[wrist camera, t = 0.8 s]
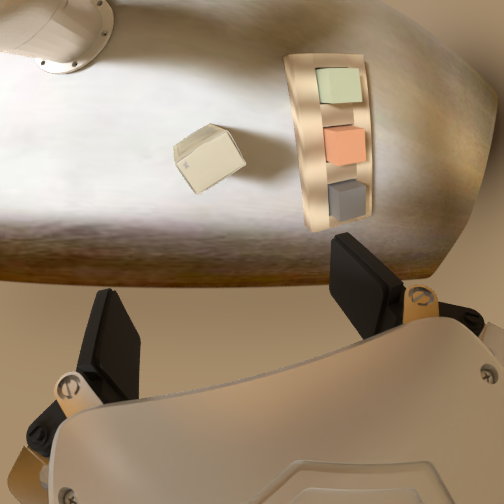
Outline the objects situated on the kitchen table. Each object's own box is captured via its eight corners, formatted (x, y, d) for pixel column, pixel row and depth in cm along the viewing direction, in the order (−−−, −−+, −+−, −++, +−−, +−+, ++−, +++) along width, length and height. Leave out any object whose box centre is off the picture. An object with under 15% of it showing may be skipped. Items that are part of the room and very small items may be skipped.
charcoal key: (326, 184, 42) (339, 192, 39) (352, 178, 42) (366, 185, 39) (328, 212, 44) (339, 222, 41) (353, 205, 45) (365, 214, 42)
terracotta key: (322, 128, 37) (335, 131, 34) (350, 125, 37) (364, 128, 34) (324, 159, 39) (337, 166, 36) (351, 155, 40) (365, 161, 37)
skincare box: (188, 170, 37) (194, 199, 27) (172, 145, 35) (170, 164, 25) (227, 146, 37) (249, 165, 27) (212, 121, 35) (228, 129, 25)
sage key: (314, 69, 32) (327, 68, 29) (343, 69, 32) (358, 68, 29) (319, 102, 35) (332, 103, 31) (347, 100, 35) (362, 101, 32)
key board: (282, 56, 32) (290, 54, 29) (352, 56, 33) (363, 54, 31) (304, 225, 47) (312, 233, 45) (362, 209, 49) (371, 216, 46)
